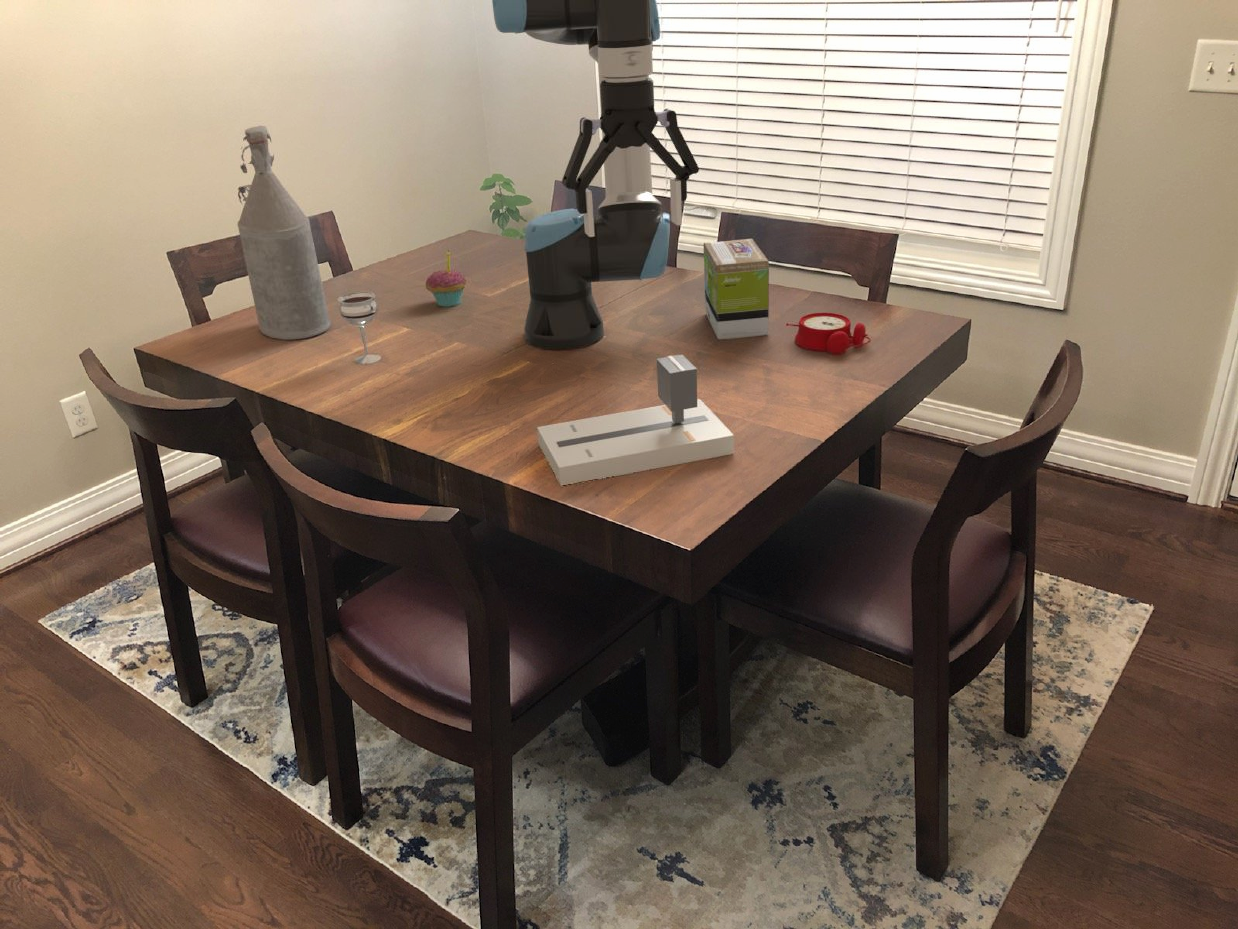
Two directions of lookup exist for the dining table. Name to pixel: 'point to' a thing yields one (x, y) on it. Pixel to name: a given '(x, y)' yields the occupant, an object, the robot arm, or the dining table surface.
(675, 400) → the fader knob
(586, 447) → the console
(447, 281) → the cupcake
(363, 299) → the wineglass
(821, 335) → the alarm clock
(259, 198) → the stoneware bottle
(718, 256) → the tea box
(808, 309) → the dining table surface
